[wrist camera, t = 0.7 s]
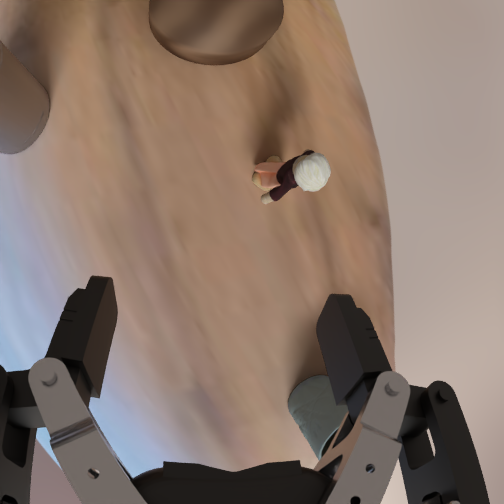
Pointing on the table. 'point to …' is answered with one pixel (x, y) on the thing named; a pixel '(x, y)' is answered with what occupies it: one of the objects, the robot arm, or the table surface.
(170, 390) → the table surface
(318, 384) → the grey-green cup
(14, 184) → the table surface
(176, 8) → the walnut plinth
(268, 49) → the table surface
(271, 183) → the grandmother figurine
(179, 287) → the table surface
